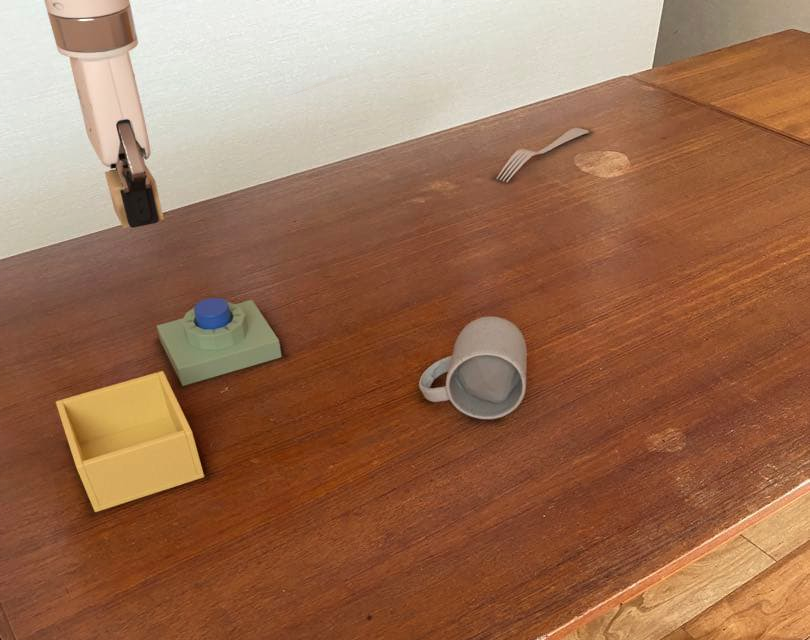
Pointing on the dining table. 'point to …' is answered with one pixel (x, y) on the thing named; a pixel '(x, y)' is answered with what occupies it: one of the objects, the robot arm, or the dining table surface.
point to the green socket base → (218, 344)
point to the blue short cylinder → (212, 313)
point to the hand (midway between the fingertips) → (138, 212)
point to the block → (116, 196)
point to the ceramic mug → (482, 370)
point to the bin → (129, 440)
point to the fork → (527, 153)
